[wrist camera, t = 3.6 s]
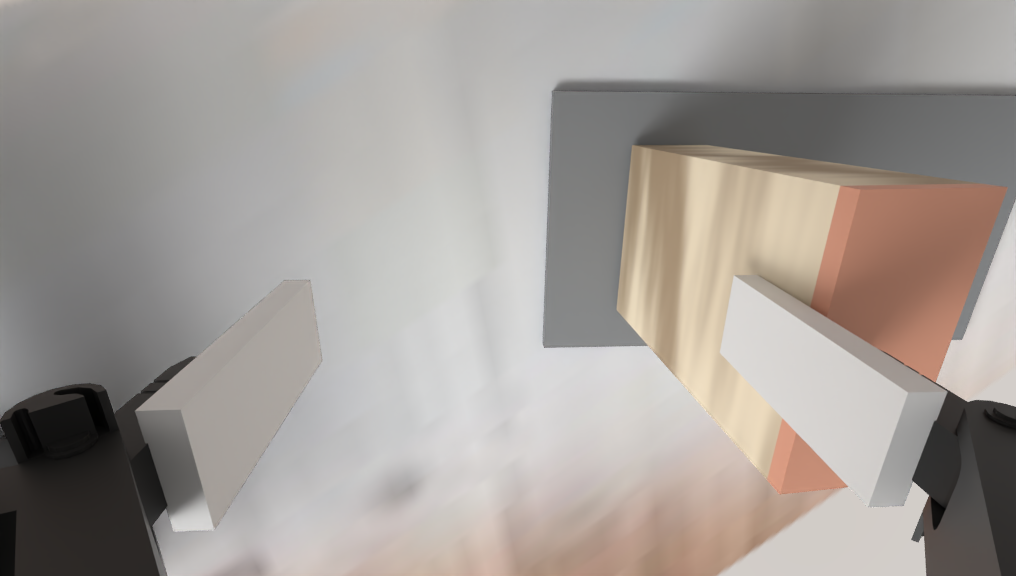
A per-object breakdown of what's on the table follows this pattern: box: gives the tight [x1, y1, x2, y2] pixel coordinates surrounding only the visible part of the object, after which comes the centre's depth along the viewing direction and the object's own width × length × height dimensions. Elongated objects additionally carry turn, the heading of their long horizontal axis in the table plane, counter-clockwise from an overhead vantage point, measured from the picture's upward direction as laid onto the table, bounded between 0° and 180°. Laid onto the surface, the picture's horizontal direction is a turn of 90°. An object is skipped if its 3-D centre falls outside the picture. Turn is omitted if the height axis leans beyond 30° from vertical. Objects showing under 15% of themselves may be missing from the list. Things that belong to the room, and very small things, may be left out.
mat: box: [543, 91, 1016, 348], centre depth 27 cm, size 26×14×1 cm, turn 90°
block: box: [616, 145, 1008, 494], centre depth 19 cm, size 4×9×14 cm, turn 0°
